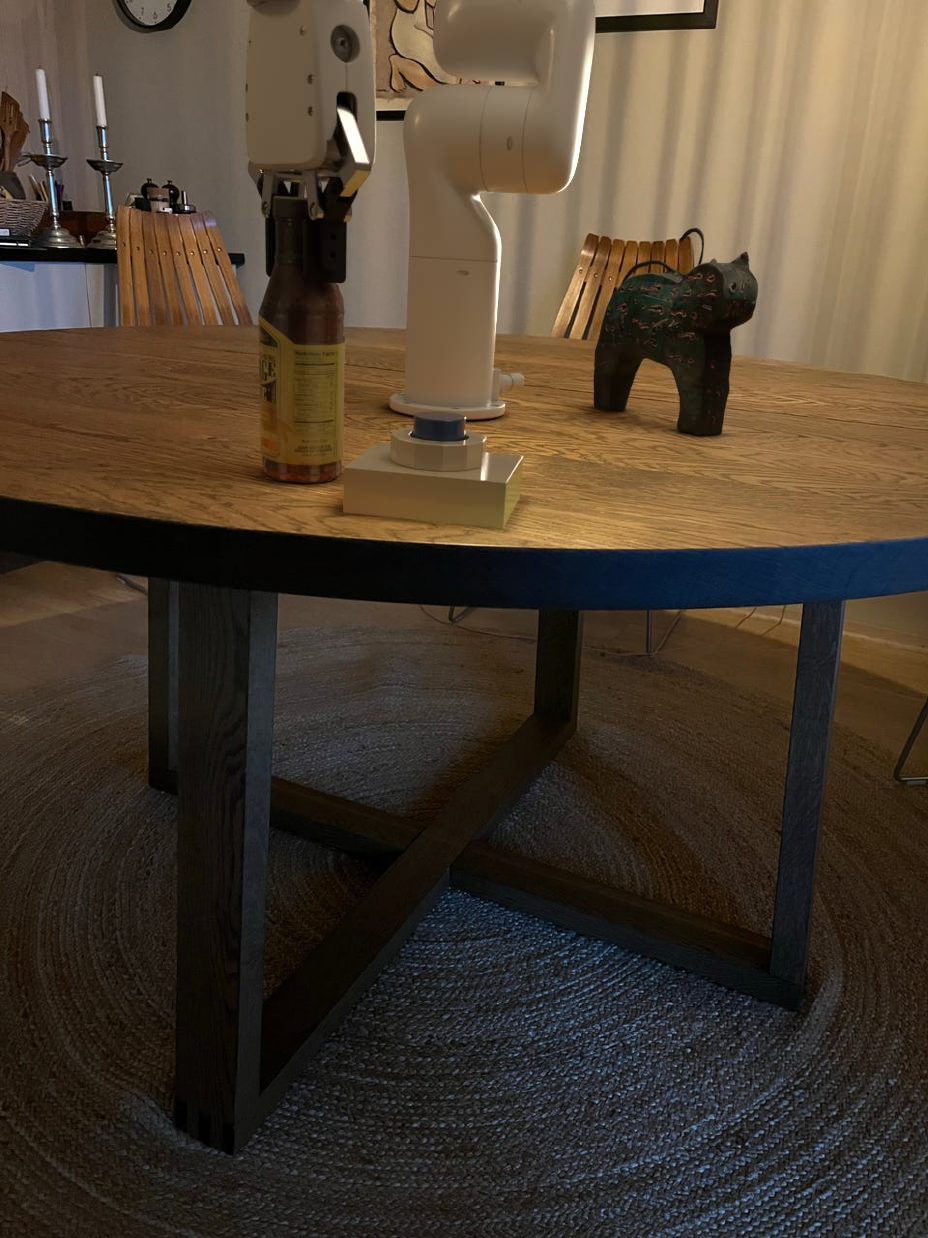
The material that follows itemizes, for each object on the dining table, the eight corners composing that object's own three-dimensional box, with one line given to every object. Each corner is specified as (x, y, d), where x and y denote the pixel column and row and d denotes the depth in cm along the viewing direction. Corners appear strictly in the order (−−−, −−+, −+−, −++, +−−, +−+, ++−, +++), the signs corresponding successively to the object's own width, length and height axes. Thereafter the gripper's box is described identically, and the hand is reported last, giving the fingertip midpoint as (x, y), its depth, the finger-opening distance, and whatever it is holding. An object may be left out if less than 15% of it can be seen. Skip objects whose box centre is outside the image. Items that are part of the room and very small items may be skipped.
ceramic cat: (741, 437, 104) (773, 231, 96) (695, 440, 100) (725, 227, 93) (617, 405, 119) (637, 225, 112) (575, 407, 116) (592, 222, 109)
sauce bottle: (265, 466, 79) (261, 195, 72) (344, 469, 80) (347, 200, 73) (256, 486, 73) (250, 192, 66) (342, 488, 74) (345, 198, 67)
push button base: (377, 483, 76) (378, 418, 74) (520, 498, 74) (525, 431, 72) (342, 513, 68) (343, 439, 66) (503, 529, 66) (508, 455, 64)
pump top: (419, 434, 71) (420, 409, 71) (468, 438, 71) (470, 413, 70) (407, 443, 68) (408, 417, 67) (459, 447, 67) (460, 422, 67)
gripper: (430, -25, 61) (418, 289, 67) (289, 8, 73) (290, 273, 79) (326, -53, 56) (324, 288, 63) (192, -12, 68) (202, 271, 75)
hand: (305, 276), depth 71 cm, fingers open, 4 cm apart
